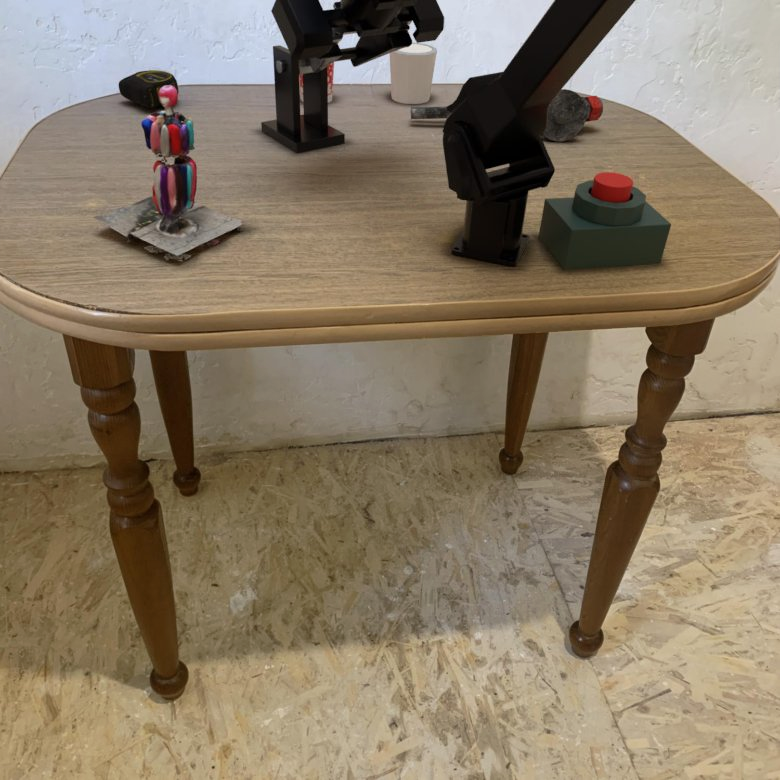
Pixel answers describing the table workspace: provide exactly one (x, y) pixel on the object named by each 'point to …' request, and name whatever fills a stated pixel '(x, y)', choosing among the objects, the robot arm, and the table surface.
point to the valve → (561, 121)
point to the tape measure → (146, 87)
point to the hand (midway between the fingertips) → (333, 66)
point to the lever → (347, 54)
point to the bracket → (289, 123)
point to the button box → (602, 230)
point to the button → (612, 187)
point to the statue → (171, 191)
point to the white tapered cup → (412, 73)
